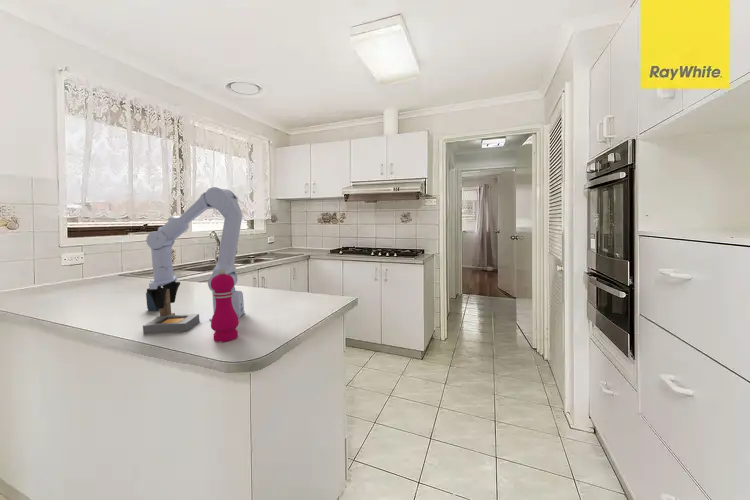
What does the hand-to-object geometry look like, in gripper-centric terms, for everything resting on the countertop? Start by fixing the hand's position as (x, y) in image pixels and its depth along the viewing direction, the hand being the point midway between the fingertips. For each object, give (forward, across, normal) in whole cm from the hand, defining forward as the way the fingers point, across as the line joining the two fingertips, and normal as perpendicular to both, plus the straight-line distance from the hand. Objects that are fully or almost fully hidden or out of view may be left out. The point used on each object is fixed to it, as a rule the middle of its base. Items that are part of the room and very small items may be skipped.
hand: (165, 305), depth 112 cm
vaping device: (+5, -12, -10) cm, 16 cm away
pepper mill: (+5, +24, +27) cm, 36 cm away
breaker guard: (+4, +11, +7) cm, 14 cm away
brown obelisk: (+4, 0, 0) cm, 4 cm away
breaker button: (+4, +11, +7) cm, 14 cm away
